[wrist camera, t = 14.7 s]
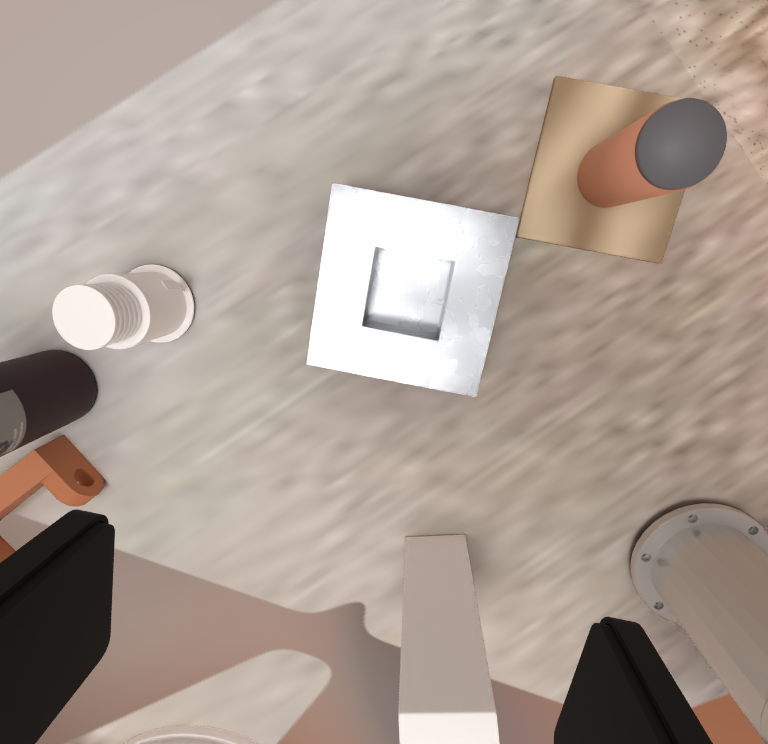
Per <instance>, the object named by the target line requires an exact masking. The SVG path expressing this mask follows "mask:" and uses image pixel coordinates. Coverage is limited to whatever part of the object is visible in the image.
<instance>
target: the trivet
mask: <svg viewBox="0 0 768 744" xmlns="http://www.w3.org/2000/svg"><path fill="white" fill-rule="evenodd" d="M679 99H683V98H677V97H672V96H666V95H661V94H655V93H650V92H644V91H638V90H633V89H627V88H622V87H616V86H611V85H605V84H599V83H594V82H588V81H583V80H577V79H571V78H566V77H560V76H556V77H555V78H554V82H553V86H552V90H551V94H550V98H549V102H548V106H547V110H546V115H545V119H544V123H543V127H542V131H541V135H540V139H539V143H538V148H537V152H536V156H535V160H534V164H533V168H532V172H531V176H530V180H529V185H528V189H527V193H526V197H525V201H524V205H523V209H522V213H521V217H520V222H519V226H518V230H517V234H516V237H520V238H525V239H530V240H536V241H541V242H547V243H552V244H557V245H563V246H568V247H573V248H579V249H584V250H589V251H595V252H600V253H606V254H611V255H616V256H622V257H627V258H632V259H638V260H643V261H648V262H654V263H662V260H663V257H664V253H665V250H666V247H667V244H668V241H669V238H670V235H671V232H672V229H673V226H674V222H675V219H676V216H677V213H678V210H679V207H680V204H681V201H682V198H683V195H684V191H685V189H684V190H681V191H677V192H673V193H669V194H664V195H660V196H656V197H652V198H648V199H644V200H640V201H635V202H631V203H627V204H623V205H619V206H615V207H609V208H602V207H597V206H595V205H592V204H591V203H589V202H588V201H587V200H586V199H585V198H584V197H583V196H582V194H581V192H580V190H579V187H578V182H577V174H578V169H579V166H580V163H581V161H582V159H583V158H584V156H585V155H586V154H587V152H588V151H589V150H590V149H592V148H593V147H594V146H596V145H598V144H599V143H601V142H603V141H604V140H606V139H608V138H609V137H611V136H612V135H614V134H616V133H617V132H619V131H621V130H622V129H624V128H626V127H627V126H629V125H631V124H632V123H634V122H636V121H637V120H639V119H641V118H642V117H644V116H645V115H647V114H649V113H650V112H652V111H654V110H655V109H657V108H659V107H660V106H662V105H664V104H666V103H668V102H672V101H676V100H679ZM710 104H711V103H710ZM711 105H713V104H711Z"/></svg>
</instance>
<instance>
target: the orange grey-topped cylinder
mask: <svg viewBox="0 0 768 744" xmlns="http://www.w3.org/2000/svg"><path fill="white" fill-rule="evenodd" d="M726 141H727V132H726V126H725V122H724V120H723V118H722V116H721V114H720V113H719V111H718V110H717V109H716V108H715V107H714V106H713V105H711V104H710V103H708V102H706V101H703V100H700V99H695V98H685V99H679V100H676V101H672V102H668V103H666V104H664V105H662V106H660V107H659V108H657V109H655V110H654V111H652V112H650V113H649V114H647V115H645V116H644V117H642V118H641V119H639V120H637V121H636V122H634V123H632V124H631V125H629V126H627V127H626V128H624V129H622V130H621V131H619V132H617V133H616V134H614V135H612V136H611V137H609V138H608V139H606V140H604V141H603V142H601V143H599V144H598V145H596V146H594V147H593V148H592V149H590V150H589V151H588V152H587V154H586V155H585V156H584V158H583V159H582V161H581V163H580V166H579V169H578V174H577V182H578V187H579V190H580V192H581V194H582V196H583V197H584V198H585V199H586V200H587V201H588V202H589V203H591V204H592V205H595V206H597V207H602V208H609V207H615V206H619V205H623V204H627V203H631V202H635V201H640V200H644V199H648V198H652V197H656V196H660V195H664V194H669V193H673V192H677V191H681V190H684V189H687V188H690V187H692V186H693V185H695V184H697V183H699V182H700V181H702V180H703V179H705V178H706V177H707V176H708V175H710V174H711V173H712V171H713V170H714V169H715V168H716V167H717V165H718V164H719V162H720V160H721V158H722V156H723V154H724V151H725V147H726Z"/></svg>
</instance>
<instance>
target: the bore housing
mask: <svg viewBox="0 0 768 744" xmlns="http://www.w3.org/2000/svg"><path fill="white" fill-rule="evenodd" d="M519 219H520V218H518V217H513V216H507V215H502V214H497V213H491V212H486V211H480V210H475V209H470V208H464V207H459V206H453V205H448V204H443V203H437V202H432V201H427V200H421V199H416V198H410V197H405V196H400V195H394V194H389V193H383V192H378V191H373V190H367V189H362V188H356V187H351V186H346V185H340V184H335V183H332V190H331V197H330V204H329V211H328V217H327V224H326V231H325V238H324V245H323V252H322V259H321V266H320V273H319V280H318V287H317V294H316V301H315V308H314V315H313V321H312V328H311V335H310V342H309V349H308V356H307V363H306V364H307V365H312V366H318V367H323V368H328V369H333V370H338V371H343V372H349V373H354V374H359V375H364V376H369V377H374V378H380V379H385V380H390V381H395V382H400V383H405V384H411V385H416V386H421V387H426V388H431V389H436V390H442V391H447V392H452V393H457V394H462V395H467V396H473V397H476V396H477V392H478V388H479V384H480V379H481V375H482V371H483V367H484V363H485V359H486V355H487V351H488V346H489V342H490V338H491V334H492V330H493V326H494V322H495V318H496V313H497V309H498V305H499V301H500V297H501V293H502V289H503V285H504V280H505V276H506V272H507V268H508V264H509V260H510V256H511V252H512V247H513V243H514V239H515V235H516V231H517V227H518V223H519Z"/></svg>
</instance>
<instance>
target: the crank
mask: <svg viewBox="0 0 768 744" xmlns="http://www.w3.org/2000/svg"><path fill="white" fill-rule="evenodd" d="M77 481H78V482H79V483H80V484H81V485H80V484H79V483H78V482H77ZM43 485H44V486H45V487H46V488H47V489H48V490H49V491H50V492H51V493H52V494H53V495H54V496H55V497H56V498H57V499H58V500H59V501H60V502H62V503H64V504H66V505H69V506H82V505H84V504H86V503H87V502H88V501H90V500H91V499H92V498H94V497H95V496H96V495H97V494H99V493H100V492H101V490H102V489H103V485H104V480H103V477H102V475H101V474H100V473H99V472H98V471H97V470H96V469H95V468H94V467H93V466H92V465H91V464H90V462H89V461H88V460H87V459H86V458H85V457H84V456H83V455H82V454H81V453H80V452H79V451H78V450H77V449H76V447H75V446H74V445H73V444H72V443H71V442H70V441H69V440H68V439H67V438H66V437H65V436H64V435H63V436H61V437H59V438H57V439H55V440H53V441H51V442H49V443H47V444H45V445H43V446H41V447H39V448H37V449H35V450H34V451H32V452H31V453H30V454H28V455H27V456H26V457H25V458H23V459H22V460H21V461H19V462H18V463H17V464H15V465H14V466H13V467H11V468H10V469H9V470H7V471H6V472H5V473H4V474H2V475H1V476H0V520H1V519H3V518H4V517H5V516H6V515H8V514H9V513H10V512H11V511H12V510H13V509H15V508H16V507H17V506H18V505H20V504H21V503H22V502H23V501H25V500H26V499H27V498H28V497H29V496H31V495H32V494H33V493H34V492H36V491H37V490H38V489H39V488H41V487H42V486H43ZM14 552H16V551H15V550H14V549H13V548H12V547H11V546H10V545H9V544H8V543H7V542H6V541H5V540H4V539H3V538H2V537H1V536H0V563H1V562H2V561H3V560H5V559H6V558H7V557H9V556H10V555H11V554H13V553H14Z"/></svg>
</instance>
